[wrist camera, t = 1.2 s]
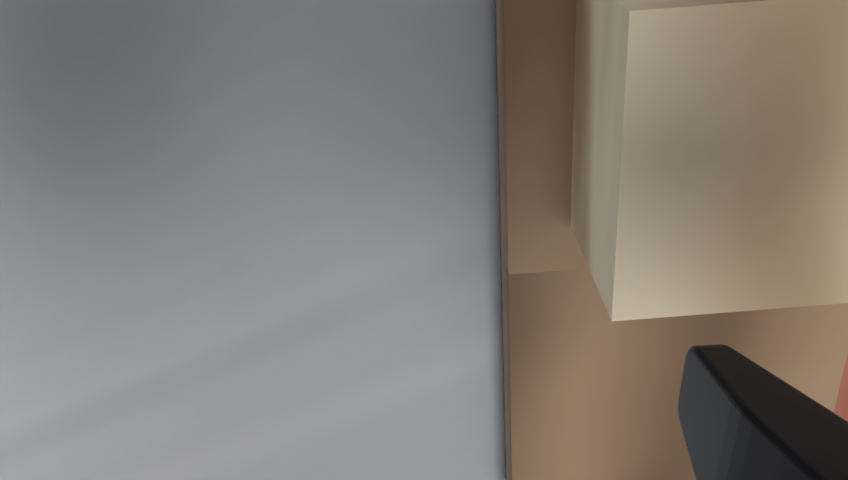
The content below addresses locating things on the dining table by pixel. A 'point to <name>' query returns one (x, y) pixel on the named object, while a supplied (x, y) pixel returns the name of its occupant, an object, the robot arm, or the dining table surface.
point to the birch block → (711, 154)
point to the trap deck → (584, 308)
